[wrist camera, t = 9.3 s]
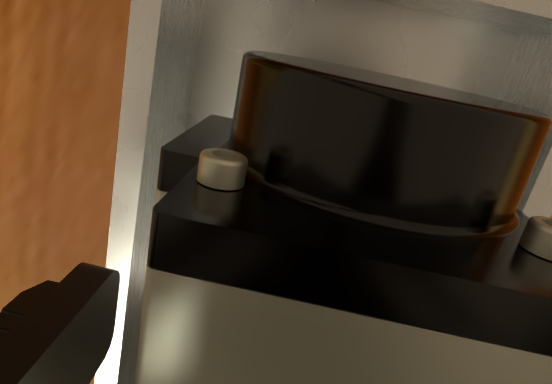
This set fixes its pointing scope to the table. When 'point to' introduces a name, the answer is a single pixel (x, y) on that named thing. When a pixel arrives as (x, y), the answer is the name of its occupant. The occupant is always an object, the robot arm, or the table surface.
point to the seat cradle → (313, 45)
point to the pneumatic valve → (348, 237)
